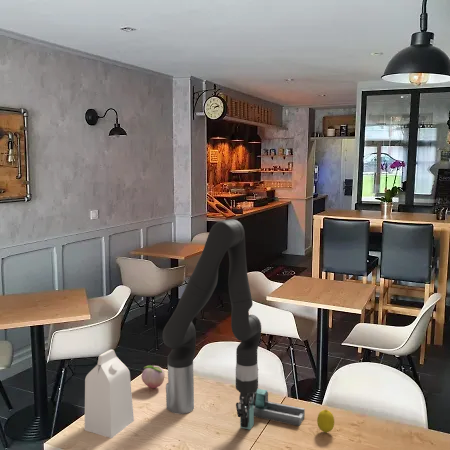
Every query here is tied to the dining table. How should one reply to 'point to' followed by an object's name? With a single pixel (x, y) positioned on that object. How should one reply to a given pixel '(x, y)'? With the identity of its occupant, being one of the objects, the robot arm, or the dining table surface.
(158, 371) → the decorative fruit
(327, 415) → the lemon
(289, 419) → the rail
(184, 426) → the dining table surface
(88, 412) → the milk
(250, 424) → the block
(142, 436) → the dining table surface
